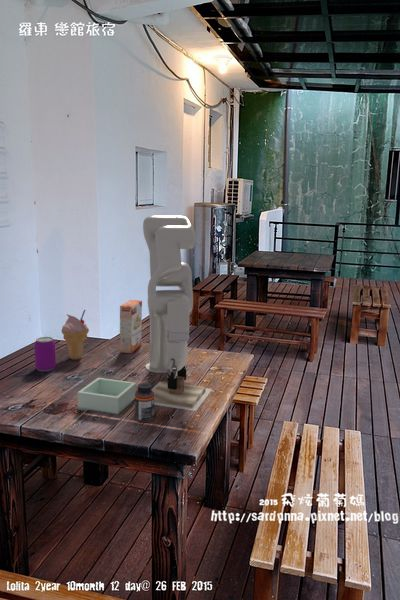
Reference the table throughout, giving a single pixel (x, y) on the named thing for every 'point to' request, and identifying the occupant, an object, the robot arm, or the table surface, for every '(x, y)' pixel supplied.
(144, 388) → the supplement bottle
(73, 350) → the ice cream cone
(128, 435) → the table surface
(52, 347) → the beverage can
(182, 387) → the cover
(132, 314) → the cracker box
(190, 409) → the mat
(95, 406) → the mint green open box
